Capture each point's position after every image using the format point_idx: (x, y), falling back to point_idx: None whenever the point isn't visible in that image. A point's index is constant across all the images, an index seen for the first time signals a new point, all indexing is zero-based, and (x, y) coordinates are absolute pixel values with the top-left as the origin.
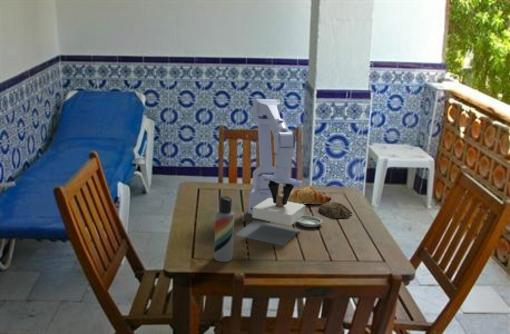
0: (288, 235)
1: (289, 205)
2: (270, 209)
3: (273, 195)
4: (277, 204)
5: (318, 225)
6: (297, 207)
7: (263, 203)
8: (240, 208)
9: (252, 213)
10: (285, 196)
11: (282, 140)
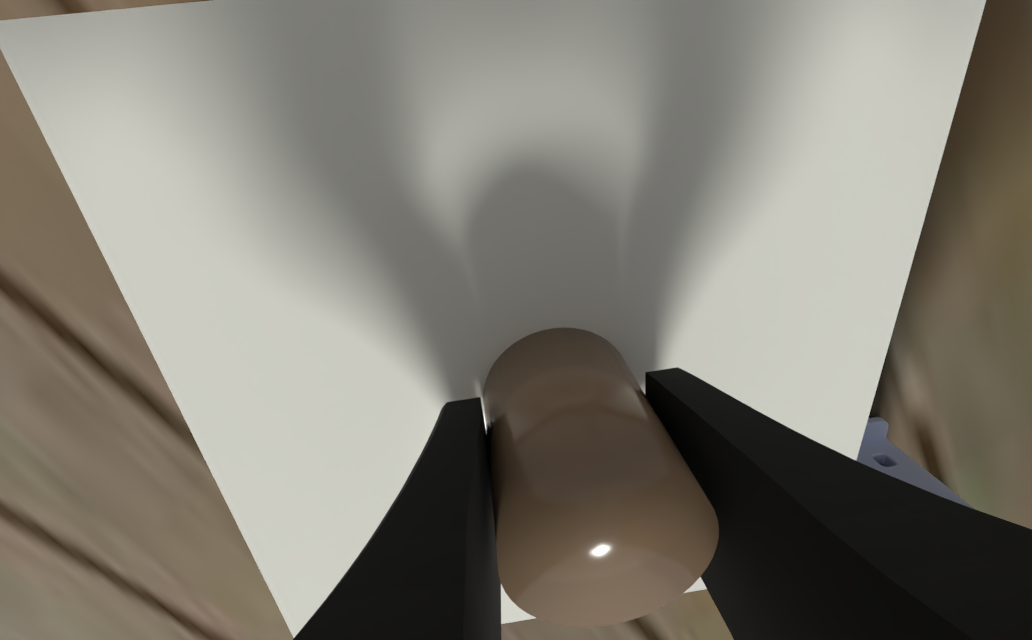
0: None
1: None
2: (612, 96)
3: (776, 449)
4: (578, 351)
5: None
6: (300, 520)
7: (842, 326)
8: (952, 461)
9: None
10: (395, 541)
11: None
